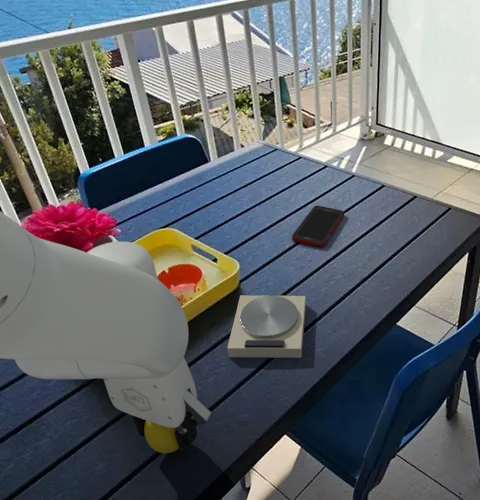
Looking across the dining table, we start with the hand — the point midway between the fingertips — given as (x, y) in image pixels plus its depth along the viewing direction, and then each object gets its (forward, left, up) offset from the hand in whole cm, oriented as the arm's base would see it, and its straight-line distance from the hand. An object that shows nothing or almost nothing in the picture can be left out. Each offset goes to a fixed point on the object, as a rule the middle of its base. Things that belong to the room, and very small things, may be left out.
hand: (168, 433), depth 68 cm
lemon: (0, 0, -3) cm, 3 cm away
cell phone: (+58, +1, -3) cm, 58 cm away
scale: (+25, -3, -3) cm, 25 cm away
